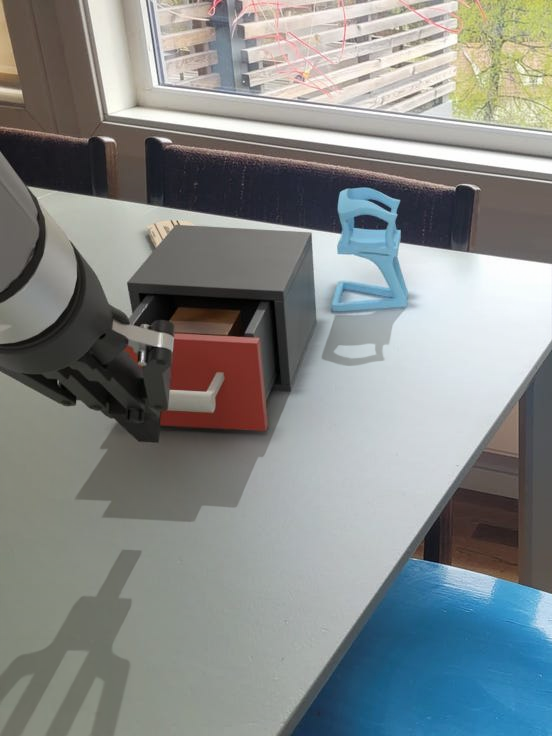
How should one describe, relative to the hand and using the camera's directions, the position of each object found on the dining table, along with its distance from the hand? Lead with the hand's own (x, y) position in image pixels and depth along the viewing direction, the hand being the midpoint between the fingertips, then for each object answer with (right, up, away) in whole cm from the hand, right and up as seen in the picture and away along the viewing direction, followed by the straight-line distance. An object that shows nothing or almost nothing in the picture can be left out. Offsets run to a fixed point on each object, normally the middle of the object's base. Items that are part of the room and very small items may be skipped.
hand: (150, 424), depth 75 cm
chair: (+12, +22, +39) cm, 46 cm away
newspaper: (-10, +29, +45) cm, 55 cm away
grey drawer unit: (0, +13, +26) cm, 29 cm away
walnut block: (0, +8, +12) cm, 14 cm away
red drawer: (0, +5, +15) cm, 16 cm away
